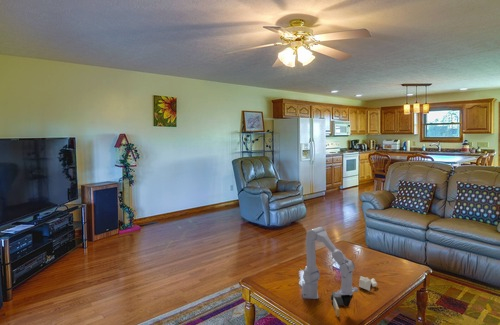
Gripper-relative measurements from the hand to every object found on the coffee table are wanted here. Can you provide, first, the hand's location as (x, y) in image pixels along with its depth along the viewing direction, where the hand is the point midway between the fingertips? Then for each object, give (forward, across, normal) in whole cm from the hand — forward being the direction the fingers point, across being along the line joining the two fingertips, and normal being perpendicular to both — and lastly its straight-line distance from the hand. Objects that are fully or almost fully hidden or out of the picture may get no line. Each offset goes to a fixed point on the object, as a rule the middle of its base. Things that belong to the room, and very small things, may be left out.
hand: (346, 306), depth 167 cm
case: (+5, +4, +11) cm, 12 cm away
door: (+5, -3, +5) cm, 7 cm away
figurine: (0, +26, +15) cm, 30 cm away
